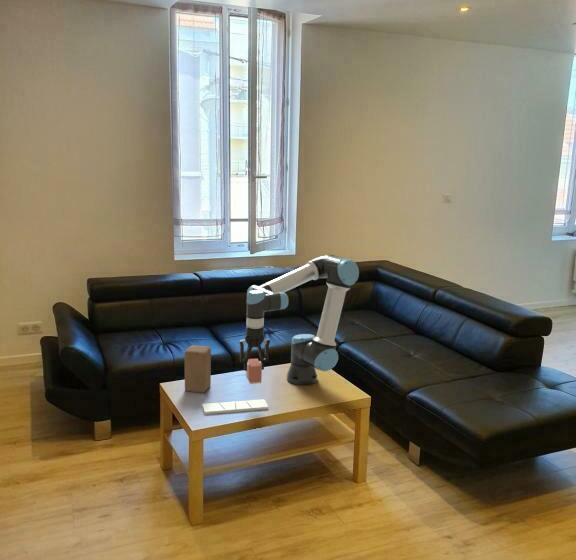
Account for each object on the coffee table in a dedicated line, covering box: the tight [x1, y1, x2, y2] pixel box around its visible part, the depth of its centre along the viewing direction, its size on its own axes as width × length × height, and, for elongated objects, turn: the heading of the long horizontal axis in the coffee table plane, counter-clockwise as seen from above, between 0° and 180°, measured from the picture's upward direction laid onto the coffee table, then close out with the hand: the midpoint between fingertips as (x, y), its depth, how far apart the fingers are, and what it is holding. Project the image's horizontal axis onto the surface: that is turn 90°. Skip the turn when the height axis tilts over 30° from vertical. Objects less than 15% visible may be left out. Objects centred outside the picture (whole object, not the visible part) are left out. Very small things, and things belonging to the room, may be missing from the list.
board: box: [202, 398, 269, 415], centre depth 255 cm, size 28×8×1 cm, turn 105°
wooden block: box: [184, 344, 212, 394], centre depth 272 cm, size 10×10×20 cm
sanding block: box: [246, 358, 263, 385], centre depth 254 cm, size 5×9×8 cm, turn 15°
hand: (253, 376), depth 254 cm, fingers closed on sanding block, 5 cm apart
